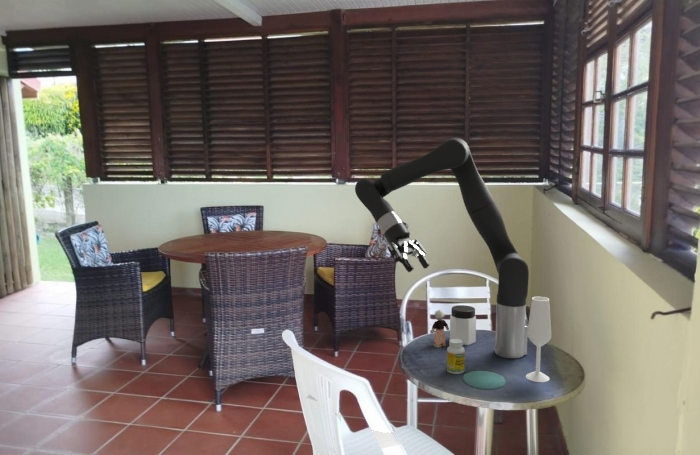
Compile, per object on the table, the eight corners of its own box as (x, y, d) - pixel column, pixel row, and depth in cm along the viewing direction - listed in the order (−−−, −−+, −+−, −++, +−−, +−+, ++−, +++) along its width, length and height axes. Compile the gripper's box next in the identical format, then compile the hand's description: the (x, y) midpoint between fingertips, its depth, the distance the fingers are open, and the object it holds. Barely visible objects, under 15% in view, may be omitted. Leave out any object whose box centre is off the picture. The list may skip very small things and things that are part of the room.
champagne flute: (529, 371, 166) (532, 294, 163) (552, 376, 162) (555, 297, 159) (522, 378, 161) (525, 299, 157) (545, 384, 157) (549, 303, 153)
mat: (489, 369, 167) (489, 368, 167) (514, 385, 156) (514, 384, 156) (455, 375, 163) (455, 374, 163) (478, 391, 152) (478, 390, 152)
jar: (460, 335, 199) (461, 303, 197) (479, 340, 193) (480, 308, 191) (445, 341, 192) (445, 308, 191) (464, 347, 187) (465, 313, 185)
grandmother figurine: (441, 341, 192) (442, 306, 190) (450, 344, 189) (450, 309, 188) (427, 347, 187) (427, 311, 185) (436, 350, 184) (436, 313, 183)
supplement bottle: (455, 366, 170) (456, 336, 169) (468, 371, 166) (468, 341, 165) (443, 370, 167) (443, 340, 166) (455, 376, 163) (455, 345, 162)
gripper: (386, 223, 172) (413, 265, 166) (413, 220, 183) (439, 259, 177) (372, 237, 177) (398, 278, 171) (399, 233, 187) (425, 272, 181)
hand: (419, 268), depth 174 cm, fingers open, 8 cm apart
